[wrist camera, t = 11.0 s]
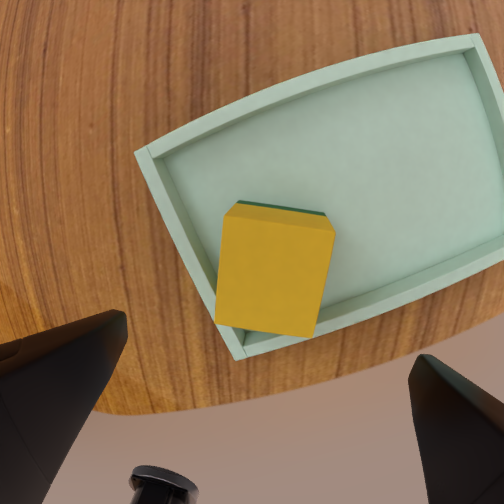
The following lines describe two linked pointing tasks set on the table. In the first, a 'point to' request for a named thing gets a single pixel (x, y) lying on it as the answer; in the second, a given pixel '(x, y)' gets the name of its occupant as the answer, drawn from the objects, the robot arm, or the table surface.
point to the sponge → (272, 268)
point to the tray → (350, 176)
